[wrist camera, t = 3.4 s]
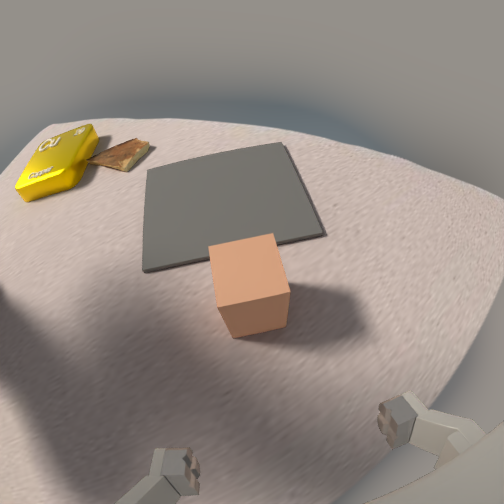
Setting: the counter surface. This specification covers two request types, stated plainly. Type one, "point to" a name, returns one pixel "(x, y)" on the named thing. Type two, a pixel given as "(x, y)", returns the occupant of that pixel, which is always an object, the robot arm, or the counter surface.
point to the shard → (121, 155)
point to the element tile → (57, 163)
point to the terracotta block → (250, 285)
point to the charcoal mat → (223, 204)
